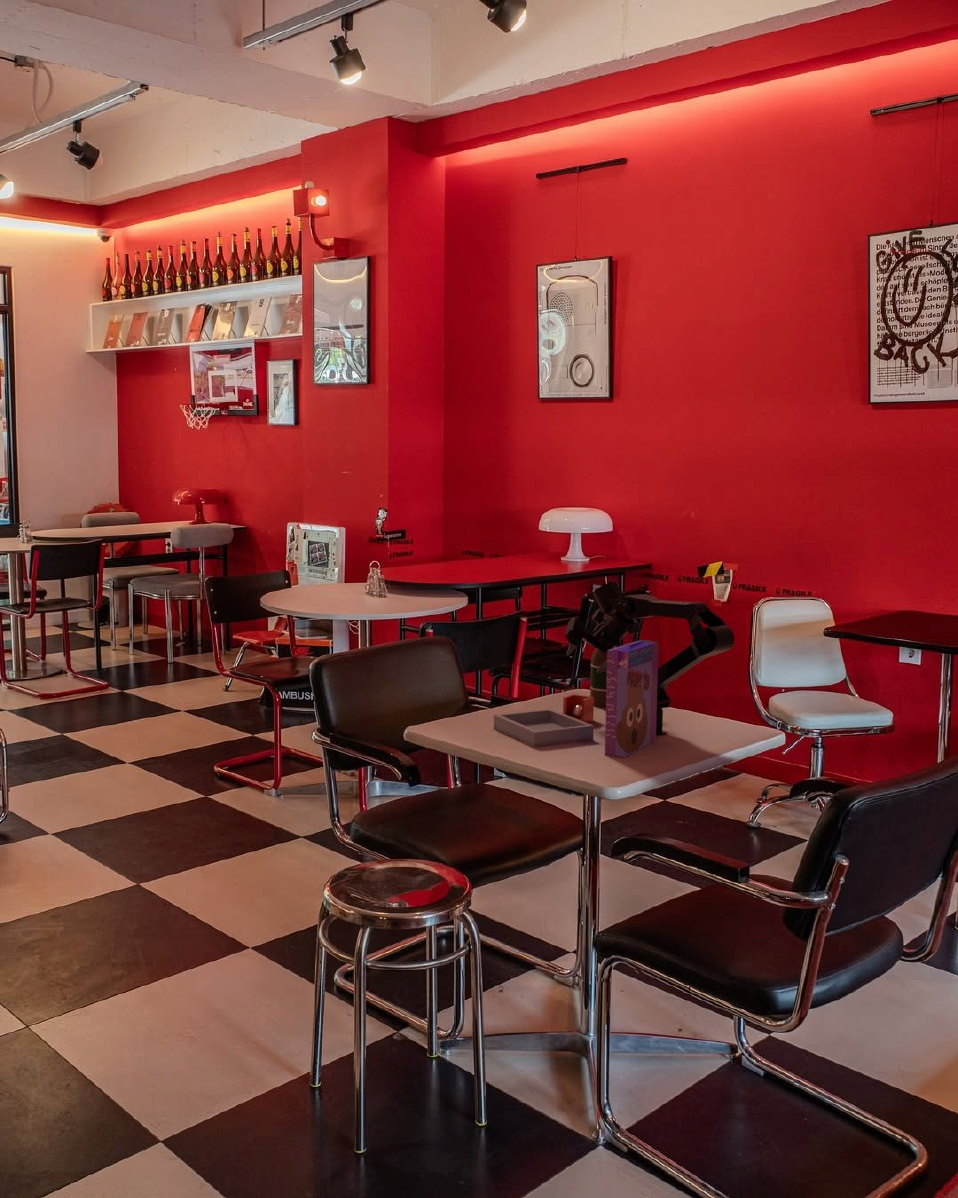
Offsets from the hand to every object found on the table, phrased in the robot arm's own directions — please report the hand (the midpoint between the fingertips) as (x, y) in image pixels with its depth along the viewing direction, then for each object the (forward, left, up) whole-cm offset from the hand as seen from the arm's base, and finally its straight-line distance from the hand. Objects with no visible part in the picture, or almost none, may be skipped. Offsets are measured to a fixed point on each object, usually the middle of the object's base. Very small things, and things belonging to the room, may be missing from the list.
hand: (582, 662), depth 289 cm
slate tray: (-14, +19, -14) cm, 27 cm away
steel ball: (-5, +4, -11) cm, 13 cm away
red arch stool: (-5, +4, -14) cm, 15 cm away
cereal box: (-34, +8, -14) cm, 37 cm away
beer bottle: (+8, -13, -14) cm, 21 cm away
